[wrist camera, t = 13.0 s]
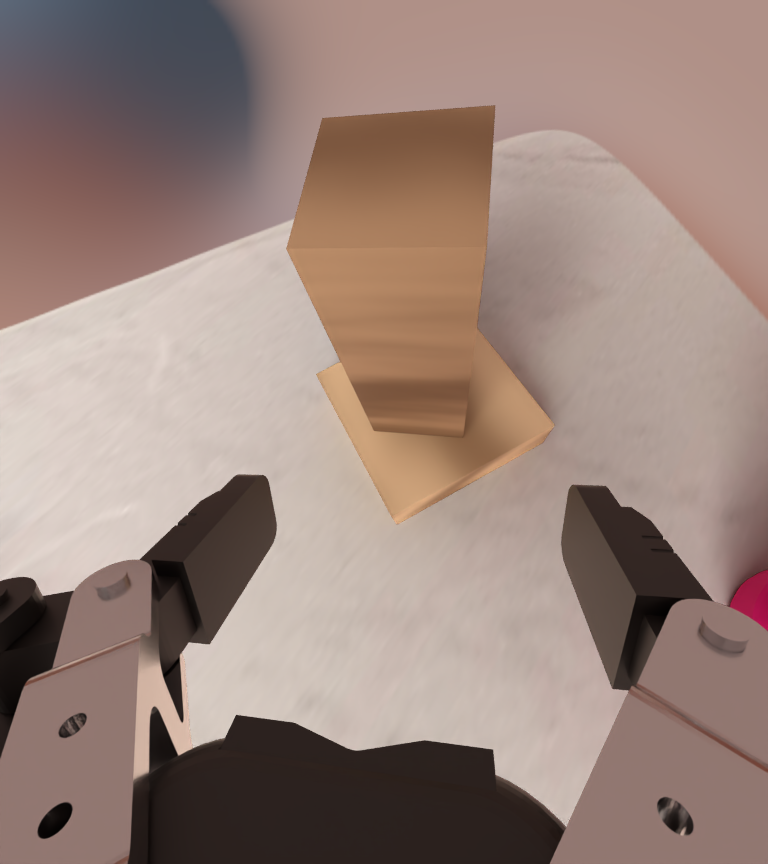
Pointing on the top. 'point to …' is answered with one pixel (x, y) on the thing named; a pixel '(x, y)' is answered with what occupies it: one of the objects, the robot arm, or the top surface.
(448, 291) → the walnut pillar
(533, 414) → the oak base
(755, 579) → the pepper mill
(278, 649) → the top surface
